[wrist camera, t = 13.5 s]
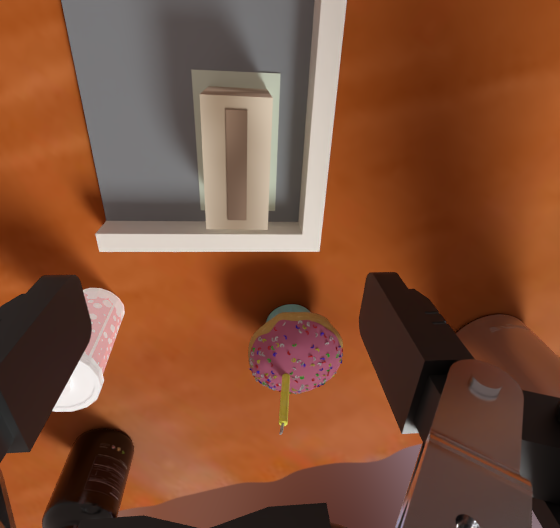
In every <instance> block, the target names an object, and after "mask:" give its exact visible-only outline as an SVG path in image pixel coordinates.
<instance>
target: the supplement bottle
mask: <svg viewBox="0 0 560 528" xmlns="http://www.w3.org/2000/svg"><path fill="white" fill-rule="evenodd" d="M133 454H134V446H133V443H132V441H131V440H130V438H129V437H127V436H126V435H125V434H123V433H121V432H119V431H116V430H112V429H94V430H90V431H87V432H85V433H83V434H82V435H80V436H79V437H78V438H77V439H76V441H75V442H74V444H73V446H72V449H71V451H70V453H69V455H68V458H67V460H66V463H65V465H64V467H63V470H62V472H61V474H60V477H59V479H58V482H57V484H56V486H55V489H54V491H53V493H52V496H51V498H50V501H49V503H48V505H47V508H46V510H45V513H44V515H43V519H42V527H43V528H78V526H79V523H80V520H87V519H101V518H116V517H117V516H118V512H119V508H120V505H121V501H122V497H123V493H124V489H125V485H126V481H127V478H128V474H129V470H130V466H131V462H132V458H133Z"/></svg>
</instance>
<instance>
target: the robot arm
mask: <svg viewBox="0 0 560 528" xmlns="http://www.w3.org/2000/svg"><path fill="white" fill-rule="evenodd" d="M359 329H360V334H361V337H362V340H363V342H364V345H365V347H366V349H367V352H368V354H369V357H370V359H371V361H372V364H373V366H374V369H375V371H376V373H377V376H378V378H379V380H380V383H381V385H382V388H383V390H384V392H385V395H386V397H387V400H388V402H389V404H390V407H391V409H392V412H393V414H394V416H395V419H396V421H397V424H398V426H399V428H400V431H401V433H402V434H409V433H419V435H420V437H421V439H422V441H423V444H422V446H421V449H420V452H419V455H418V458H417V461H416V464H415V468H414V471H413V474H412V477H411V480H410V483H409V486H408V490H407V493H406V496H405V499H404V502H403V505H402V508H401V511H400V514H399V517H398V520H397V523H396V527H395V528H532V510H533V512H534V514H535V515H536V517H537V519H538V520H539V522H540V524H541V525H542V527H543V528H560V358H559V357H558V356H557V355H556V354H555V353H554V352H553V351H552V350H551V349H550V348H549V347H548V346H547V345H546V344H545V343H544V342H543V341H541V340H540V339H539V338H538V337H537V336H536V335H535V334H534V333H533V332H532V331H531V330H530V329H529V328H528V327H527V326H526V325H525V324H524V323H523V322H522V321H521V320H519V319H517V318H516V317H513V316H510V315H502V314H498V315H490V316H486V317H482V318H480V319H477V320H475V321H473V322H471V323H469V324H468V325H466V326H464V327H463V328H462V329H461V330H459V331H458V332H457V333H456V334H455V332H454V331H453V330H452V329H451V327H450V326H449V325H448V324H446V321H445V319H444V318H443V317H442V315H441V314H439V313H438V310H437V309H436V308H435V306H434V305H433V304H432V302H431V301H430V300H429V299H428V298H427V297H425V296H424V295H422V294H421V293H419V292H418V291H416V290H415V289H408V288H407V286H406V285H405V284H404V282H403V281H402V279H401V278H400V277H399V275H398V274H397V273H395V272H374V273H369V274H368V275H367V278H366V282H365V288H364V293H363V299H362V304H361V310H360V316H359ZM91 332H92V324H91V319H90V315H89V311H88V307H87V304H86V300H85V296H84V293H83V289H82V285H81V282H80V280H79V278H78V277H77V276H76V275H44V276H42V277H41V278H40V279H39V280H38V281H37V282H36V283H35V284H34V285H33V286H32V287H31V288H30V290H29V291H28V292H27V293H26V294H21V295H19V296H17V297H16V298H14V299H12V300H11V301H9V302H7V303H6V304H4V305H2V306H1V307H0V463H1V461H2V459H3V458H4V456H5V454H6V453H18V452H30V451H31V449H32V447H33V445H34V443H35V441H36V440H37V438H38V436H39V434H40V432H41V430H42V429H43V427H44V425H45V423H46V421H47V419H48V418H49V416H50V414H51V412H52V410H53V408H54V406H55V405H56V403H57V401H58V399H59V397H60V395H61V394H62V392H63V390H64V388H65V386H66V384H67V383H68V381H69V379H70V377H71V375H72V373H73V372H74V370H75V368H76V366H77V364H78V362H79V361H80V359H81V357H82V355H83V353H84V351H85V349H86V348H87V346H88V344H89V341H90V338H91ZM0 528H16V525H15V521H14V517H13V513H12V509H11V505H10V501H9V497H8V493H7V489H6V485H5V481H4V477H3V474H2V471H1V469H0ZM78 528H196V527H192V526H187V525H183V524H179V523H174V522H170V521H166V520H161V519H157V518H152V517H148V516H131V517H116V518H101V519H87V520H80V523H79V526H78ZM211 528H347V527H344V526H342V525H339V524H334V523H331V522H330V520H329V515H328V509H327V504H326V503H318V504H303V505H290V506H275V507H267V508H265V509H262V510H259V511H256V512H253V513H250V514H248V515H245V516H242V517H239V518H236V519H234V520H231V521H228V522H226V523H223V524H220V525H217V526H214V527H211Z"/></svg>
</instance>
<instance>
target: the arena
mask: <svg viewBox="0 0 560 528" xmlns="http://www.w3.org/2000/svg"><path fill="white" fill-rule="evenodd" d="M61 2H62V7H63V12H64V17H65V22H66V26H67V31H68V36H69V41H70V46H71V51H72V56H73V61H74V65H75V70H76V75H77V80H78V85H79V90H80V95H81V99H82V104H83V109H84V114H85V119H86V124H87V129H88V134H89V138H90V143H91V148H92V153H93V158H94V163H95V168H96V172H97V177H98V182H99V187H100V192H101V197H102V202H103V207H104V211H105V216H106V222H105V223H104V224H103V225H102V227H101V228H100V229H99V230H98V231H97V233H96V239H97V243H98V248H99V252H319V251H320V242H321V233H322V224H323V215H324V205H325V196H326V187H327V178H328V169H329V160H330V150H331V141H332V132H333V123H334V114H335V105H336V95H337V86H338V77H339V68H340V59H341V50H342V40H343V31H344V22H345V13H346V4H347V0H61ZM208 86H216V87H235V88H254V89H267V90H268V91H269V93H270V94H271V96H272V97H273V110H272V135H271V160H270V184H269V209H268V230H228V229H206V214H205V194H204V174H203V154H202V134H201V114H200V93H201V92H203V91H204V90H205V89H206V88H207V87H208Z"/></svg>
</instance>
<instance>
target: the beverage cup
mask: <svg viewBox="0 0 560 528" xmlns="http://www.w3.org/2000/svg"><path fill="white" fill-rule="evenodd" d="M83 293H84V296H85V300H86V304H87V307H88V311H89V315H90V319H91V324H92V332H91V338H90V341H89V344H88V346H87V348H86V349H85V351H84V353H83V355H82V357H81V359H80V361H79V362H78V364H77V366H76V368H75V370H74V372H73V373H72V375H71V377H70V379H69V381H68V383H67V384H66V386H65V388H64V390H63V392H62V394H61V395H60V397H59V399H58V401H57V403H56V405H55V406H54V408H53V410H52V411H54V412H73V411H76V410H79V409H83V408H86V407H88V406H89V405H90V404H92V403H93V402H94V401H95V400H97V398H98V395H99V393H100V390H101V388H102V385H103V382H104V378H103V372H104V369H105V367H106V364H107V361H108V358H109V355H110V352H111V350H112V347H113V344H114V341H115V338H116V336H117V333H118V330H119V327H120V324H121V321H122V319H123V316H124V313H125V312H124V305H123V303H122V302H121V300H120V299H119V298H118V297H117V296H116V295H114V294H113V293H112V292H110V291H107V290H104V289H101V288H88V289H84V290H83Z"/></svg>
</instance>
